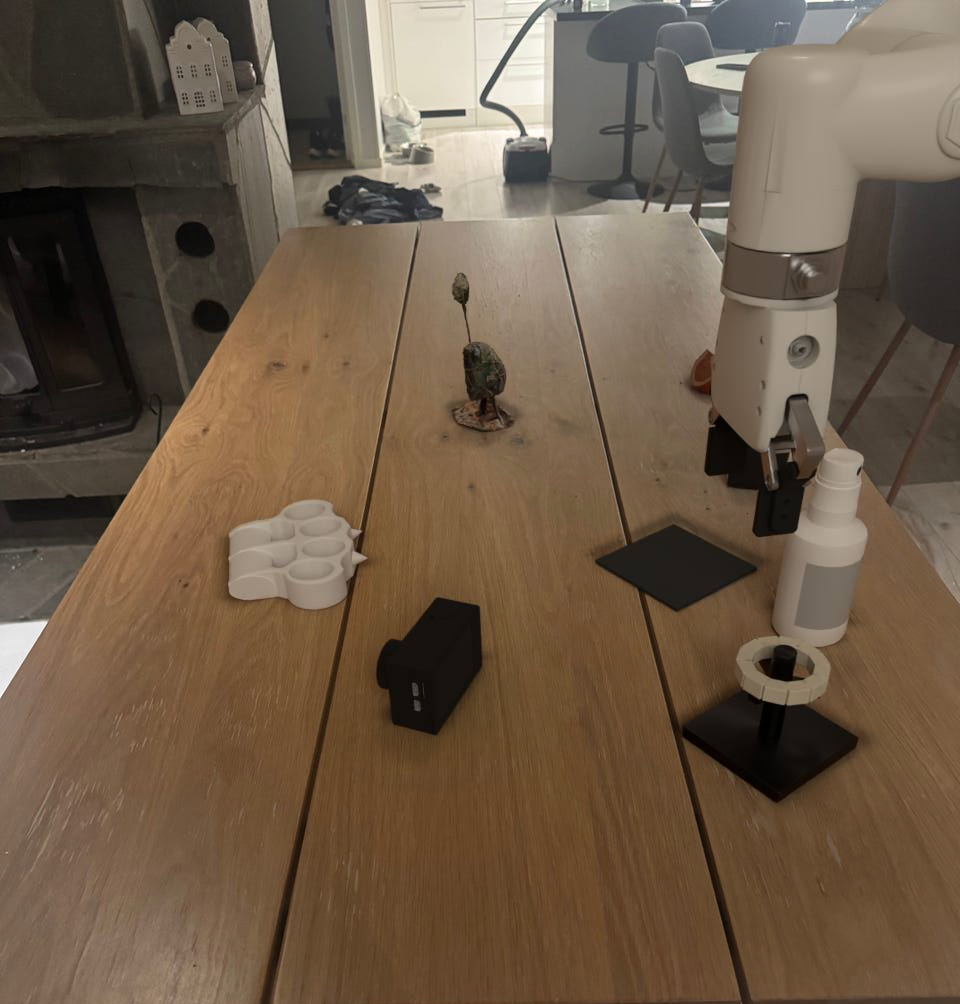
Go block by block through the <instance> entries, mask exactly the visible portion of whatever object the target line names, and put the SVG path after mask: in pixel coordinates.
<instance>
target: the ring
mask: <svg viewBox="0 0 960 1004" xmlns="http://www.w3.org/2000/svg"><path fill="white" fill-rule="evenodd" d="M777 645H789V646H792V647H794V648H795V649H796V650H797V658H796V663H795V664H798V665H799V666H802V667H803V668H804V669H806V670H807V673H808V674H809V676H807V677H806V679H804V680H800V681H791V682H784V681H780V680H775V679H771V678H769V677H767V676H766V674H765V673H763V672H760V671H759V670H758V669H757V667H756V666H755V664H757V663H759V661H760V660H762V659H769V658H772V655H773V649H774V648H775V647H776V646H777ZM831 670H832V666H831V662H829V660H828V659H827V657H826V656H825V654H824V653H823V652H822V651H821V650H820V649H818V647H813V646H811V645H810V644H808V643H806V642H804V641H802V642H801V640H799V639H794V638H789V637H784V636H780V635H779V636H778V635H770V636H761V637H757V638H753V639H751V640H750V641H748V642H746V643H744V644H743V645H742V646H741V647H739V649H738V652H737V654H736V658H735V662H734V669H733V675H734V677H735V679H736V680H737V682H738V684H739V686H740V687H741V688H742V690H743V689H744V690H745V691H747V692H748V693H750V694H752V695H753V696H755V697H756V698H758V699H761V698H762V700H763V701H767V702H771V703H776V704H780V705H785V703H786V705H787V706H788V705H798V704H805V705H807V704H809V703H813V701H815V700H816V699H818V697H820V698H821V697H822V696H823V695H825V693H826V691H827V687H828V683H829V679H830V674H831Z"/></svg>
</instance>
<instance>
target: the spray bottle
mask: <svg viewBox="0 0 960 1004" xmlns="http://www.w3.org/2000/svg"><path fill="white" fill-rule="evenodd" d="M864 462H865V458H864V456H863V454H862V453H860V452H859V451H856V450H854V449H850V448H843V447H835V448H833V449H831V450H829V451H828V452H825V455H824V457H823V458H822V460H821V462H820V463H819V469H817V472H816V475H815V476H814V480H813V485H812V491H811V495H810V497H809V501H808V506H807V509H805V510H801V512H800V518H799V523H798V528H797V530H796V532H794V533H791V534H786V538H785V543H784V548H783V549H784V550H783V555H782V560H781V566H780V571H779V576H778V582H777V588H776V593H775V599H774V603H773V611H772V616H771V624H772V627H773V629H774V631H775V632H776V633H777V634H778V635H779V636H784V637H789V638H794V639H799V640H801V642H802V641H804V642H806V643H808V644H810V645H811V646H813V647H815V648H821V647H822V648H823V647H824V648H825V647H828V646H831V645H835V644H836V643H838V642H839V641H840V640H842V638H843V637H844V635H845V634H846V631H847V627H848V623H849V619H850V615H851V611H852V605H853V602H854V597H855V593H856V589H857V584H858V581H859V577H860V572H861V568H862V564H863V559H864V554H865V551H866V547H867V543H868V538H869V534H868V527H867V526H866V525H865V523H864V522H863V521H862V520H861V519H860V518H858V517H856V516H857V511H858V506H859V505H858V504H859V503H858V502H859V497H860V493H861V490H862V489H861V488H862V483H863V482H862V470H863V466H864Z"/></svg>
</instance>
